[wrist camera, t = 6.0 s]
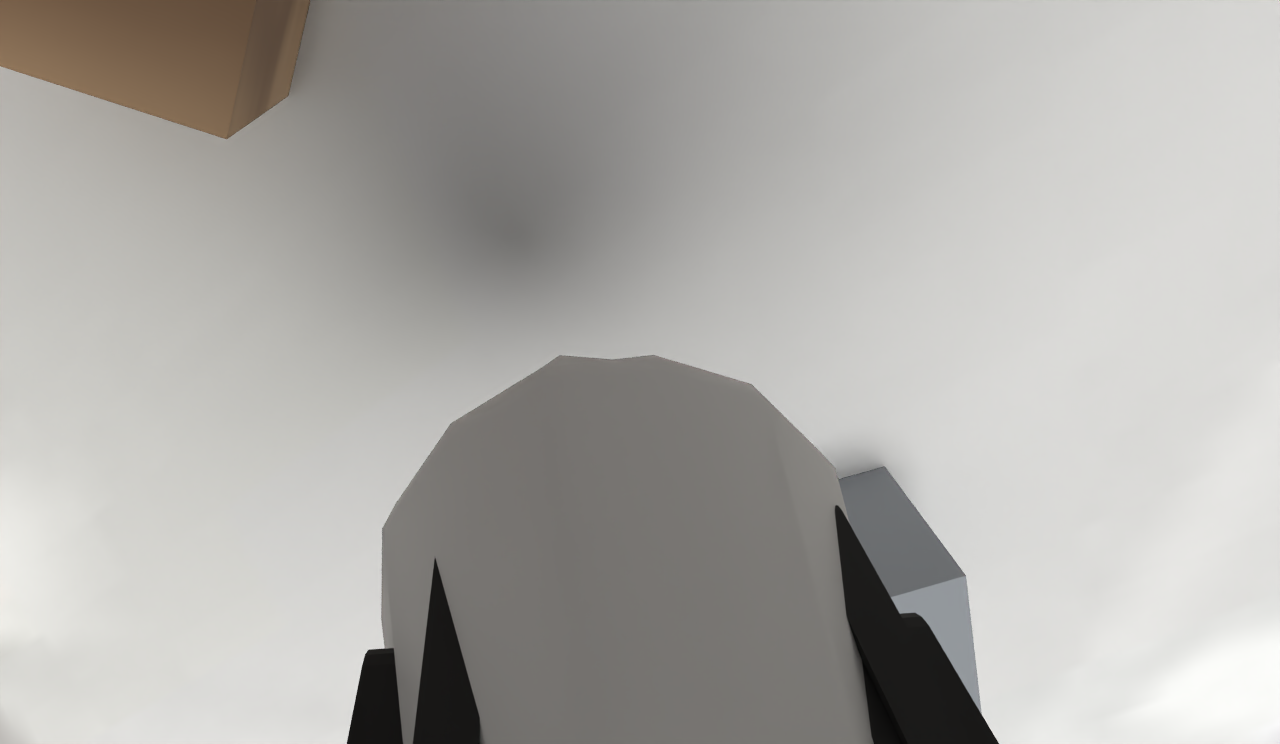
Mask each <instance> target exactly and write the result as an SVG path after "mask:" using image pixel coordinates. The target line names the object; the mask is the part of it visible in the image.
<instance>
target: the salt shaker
mask: <svg viewBox="0 0 1280 744" xmlns="http://www.w3.org/2000/svg"><path fill="white" fill-rule="evenodd" d="M836 505H838V506H839V507H840V508H841V510H842V511H843V513H844V515H845V516H846V518H847V520H848V522H849V519H848V515H847V512H846V508H845V504H844V500H843V496H842V492H841V488H840V484H839V481H838V477H837V473H836V469H835V467H834V466H833V465H832V464H831V463H830V462H829V461H828V460H827V459H826V458H825V457H824V456H823V455H822V453H821V452H820V451H819V450H818V449H817V448H816V447H815V446H814V445H813V444H812V443H811V442H810V441H809V440H808V439H807V438H806V437H805V436H804V435H803V434H802V433H801V432H800V431H799V430H798V429H797V428H796V427H795V426H794V425H793V424H792V423H791V422H789V421H788V420H787V419H786V418H785V417H784V416H783V415H782V414H781V413H780V412H779V411H778V410H777V409H776V408H775V407H774V406H773V405H772V404H771V403H770V402H769V401H768V400H767V399H766V398H765V397H764V396H763V395H762V394H761V393H760V392H759V391H758V390H757V389H756V388H755V387H754V386H753V385H752V384H749V383H745V382H742V381H739V380H735V379H732V378H729V377H725V376H722V375H719V374H715V373H712V372H709V371H705V370H702V369H699V368H695V367H692V366H688V365H685V364H682V363H678V362H675V361H672V360H668V359H665V358H662V357H658V356H655V355H650V356H641V357H632V358H623V359H614V360H610V359H598V358H586V357H574V356H562V355H559V356H558V357H556V358H555V359H554V360H552V361H551V362H549V363H548V364H546V365H545V366H544V367H542V368H541V369H539V370H537V371H536V372H534V373H532V374H531V375H529V376H527V377H526V378H524V379H523V380H521V381H519V382H518V383H516V384H514V385H513V386H511V387H510V388H508V389H506V390H505V391H503V392H501V393H500V394H498V395H497V396H495V397H493V398H492V399H490V400H488V401H487V402H485V403H483V404H482V405H480V406H479V407H477V408H475V409H474V410H472V411H470V412H469V413H467V414H466V415H464V416H462V417H461V418H459V419H457V420H456V421H454V422H452V423H451V424H450V426H449V427H448V429H447V430H446V431H445V433H444V434H443V436H442V437H441V439H440V440H439V442H438V443H437V445H436V446H435V447H434V449H433V450H432V452H431V453H430V455H429V456H428V458H427V459H426V461H425V462H424V463H423V465H422V466H421V468H420V469H419V471H418V472H417V474H416V475H415V477H414V478H413V479H412V481H411V482H410V484H409V485H408V487H407V488H406V490H405V491H404V493H403V494H402V495H401V497H400V498H399V500H398V501H397V503H396V504H395V506H394V508H393V510H392V512H391V513H390V515H389V517H388V519H387V521H386V523H385V525H384V527H383V528H382V608H381V620H382V629H383V637H384V645H385V649H388V648H394V655H395V665H396V676H397V686H398V696H399V707H400V717H401V727H402V738H403V744H413V737H414V728H415V720H416V711H417V703H418V694H419V686H420V677H421V669H422V661H423V652H424V644H425V635H426V627H427V618H428V610H429V601H430V593H431V584H432V576H433V568H434V559H435V558H436V562H437V565H438V569H439V572H440V576H441V580H442V583H443V587H444V590H445V594H446V598H447V601H448V605H449V608H450V612H451V616H452V619H453V623H454V626H455V630H456V634H457V637H458V641H459V644H460V648H461V652H462V655H463V659H464V662H465V666H466V670H467V673H468V677H469V680H470V684H471V688H472V691H473V695H474V699H475V702H476V706H477V709H478V713H479V717H480V744H874V742H873V739H872V736H871V728H870V720H869V712H868V705H867V697H866V689H865V681H864V673H863V665H862V659H861V656H860V654H859V652H858V649H857V646H856V643H855V640H854V637H853V634H852V631H851V628H850V625H849V622H848V619H847V616H846V608H845V599H844V590H843V581H842V572H841V563H840V554H839V546H838V537H837V528H836V519H835V506H836ZM849 524H850V523H849Z"/></svg>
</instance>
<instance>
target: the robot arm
mask: <svg viewBox="0 0 1280 744" xmlns="http://www.w3.org/2000/svg"><path fill="white" fill-rule="evenodd" d="M835 519H836V528H837V537H838V546H839V554H840V563H841V572H842V581H843V590H844V599H845V608H846V616H847V619H848V622H849V625H850V628H851V631H852V634H853V637H854V640H855V643H856V646H857V649H858V652H859V654H860V656H861V659H862V665H863V673H864V681H865V689H866V697H867V705H868V712H869V720H870V728H871V736H872V739H873V742H874V744H999V743H998V741H997V740H996V738H995V736H994V735H993V733H992V731H991V730H990V728H989V726H988V725H987V723H986V721H985V719H984V718H983V716H982V714H981V713H980V711H979V709H978V708H977V706H976V704H975V703H974V701H973V699H972V697H971V696H970V694H969V692H968V691H967V689H966V687H965V686H964V684H963V682H962V681H961V679H960V677H959V675H958V674H957V672H956V670H955V669H954V667H953V665H952V664H951V662H950V660H949V658H948V657H947V655H946V653H945V652H944V650H943V648H942V647H941V645H940V643H939V642H938V640H937V638H936V636H935V635H934V633H933V631H932V630H931V628H930V626H929V625H928V624H927V622H926V621H925V620H924V619H923V617H922V616H920V615H918V614H916V613H901V614H900V613H899V611H898V610H897V608H896V606H895V604H894V602H893V601H892V599H891V597H890V595H889V593H888V592H887V590H886V588H885V586H884V584H883V583H882V581H881V579H880V577H879V576H878V574H877V572H876V570H875V568H874V567H873V565H872V563H871V561H870V559H869V558H868V556H867V554H866V552H865V550H864V549H863V547H862V545H861V543H860V541H859V540H858V538H857V536H856V534H855V533H854V531H853V529H852V527H851V525H850V524H849V522H848V520H847V518H846V516H845V515H844V513H843V511H842V510H841V508H840V507H839V506H838V505H836V506H835ZM347 744H403V738H402V727H401V717H400V707H399V696H398V686H397V676H396V665H395V655H394V648H388V649H373V650H368V651H367V653H366V654H365V658H364V661H363V665H362V670H361V675H360V680H359V685H358V690H357V695H356V700H355V705H354V710H353V715H352V720H351V725H350V731H349V736H348V741H347ZM413 744H480V717H479V713H478V709H477V706H476V702H475V699H474V695H473V691H472V688H471V684H470V680H469V677H468V673H467V670H466V666H465V662H464V659H463V655H462V652H461V648H460V644H459V641H458V637H457V634H456V630H455V626H454V623H453V619H452V616H451V612H450V608H449V605H448V601H447V598H446V594H445V590H444V587H443V583H442V580H441V576H440V572H439V569H438V565H437V562H436V558H435V559H434V568H433V576H432V584H431V593H430V601H429V610H428V618H427V627H426V635H425V644H424V652H423V661H422V669H421V677H420V686H419V694H418V703H417V711H416V720H415V728H414V737H413Z"/></svg>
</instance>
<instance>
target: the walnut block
mask: <svg viewBox="0 0 1280 744" xmlns="http://www.w3.org/2000/svg"><path fill="white" fill-rule="evenodd" d="M309 4H310V0H0V66H2V67H5V68H8V69H11V70H14V71H17V72H20V73H23V74H26V75H29V76H33V77H36V78H39V79H42V80H45V81H48V82H51V83H54V84H57V85H60V86H63V87H67V88H70V89H73V90H76V91H79V92H82V93H85V94H88V95H91V96H94V97H98V98H101V99H104V100H107V101H110V102H113V103H116V104H119V105H122V106H125V107H129V108H132V109H135V110H138V111H141V112H144V113H147V114H150V115H153V116H156V117H159V118H163V119H166V120H169V121H172V122H175V123H178V124H181V125H184V126H187V127H190V128H194V129H197V130H200V131H203V132H206V133H209V134H212V135H215V136H218V137H221V138H225V139H228V138H229V137H231V136H232V135H233V134H235V133H236V132H238V131H239V130H241V129H242V128H243V127H245V126H246V125H248V124H249V123H250V122H252V121H253V120H255V119H256V118H258V117H259V116H260V115H262V114H263V113H265V112H266V111H268V110H269V109H270V108H272V107H273V106H275V105H276V104H277V103H279V102H280V101H282V100H283V99H285V98H286V97H287V96H288V95H289V90H290V86H291V82H292V77H293V73H294V69H295V64H296V60H297V56H298V51H299V47H300V43H301V38H302V34H303V30H304V25H305V21H306V17H307V13H308V8H309Z"/></svg>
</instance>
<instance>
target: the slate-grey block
mask: <svg viewBox="0 0 1280 744" xmlns="http://www.w3.org/2000/svg"><path fill="white" fill-rule="evenodd" d="M838 481H839V484H840V488H841V492H842V496H843V500H844V504H845V508H846V512H847V515H848V519H849V523H850V525H851V527H852V529H853V531H854V533H855V534H856V536H857V538H858V540H859V541H860V543H861V545H862V547H863V549H864V550H865V552H866V554H867V556H868V558H869V559H870V561H871V563H872V565H873V567H874V568H875V570H876V572H877V574H878V576H879V577H880V579H881V581H882V583H883V584H884V586H885V588H886V590H887V592H888V593H889V595H890V597H891V599H892V601H893V602H894V604H895V606H896V608H897V610H898V611H899V613H900V614H901V613H916V614H918V615H920V616H922V617H923V619H924V620H925V621H926V622H927V624H928V625H929V626H930V628H931V630H932V631H933V633H934V635H935V636H936V638H937V640H938V642H939V643H940V645H941V647H942V648H943V650H944V652H945V653H946V655H947V657H948V658H949V660H950V662H951V664H952V665H953V667H954V669H955V670H956V672H957V674H958V675H959V677H960V679H961V681H962V682H963V684H964V686H965V687H966V689H967V691H968V692H969V694H970V696H971V697H972V699H973V701H974V703H975V704H976V706H977V708H978V709H979V711H980V713H981V705H980V696H979V687H978V678H977V670H976V661H975V652H974V643H973V634H972V625H971V617H970V608H969V599H968V590H967V581H966V575H965V574H964V572H963V571H962V570H961V568H960V567H959V566H958V564H957V563H956V562H955V560H954V559H953V558H952V556H951V555H950V554H949V552H948V551H947V550H946V548H945V547H944V546H943V544H942V543H941V542H940V540H939V539H938V538H937V536H936V535H935V533H934V532H933V531H932V529H931V528H930V527H929V525H928V524H927V523H926V521H925V520H924V519H923V517H922V516H921V515H920V513H919V512H918V511H917V509H916V508H915V507H914V505H913V504H912V503H911V501H910V500H909V499H908V497H907V496H906V495H905V493H904V492H903V490H902V489H901V488H900V486H899V485H898V484H897V482H896V481H895V480H894V478H893V477H892V476H891V474H890V473H889V472H888V470H887V469H886V468H885V466H884V467H881V468H877V469H874V470H870V471H867V472H863V473H860V474H856V475H853V476H849V477H846V478H842V479H839V480H838Z"/></svg>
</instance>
